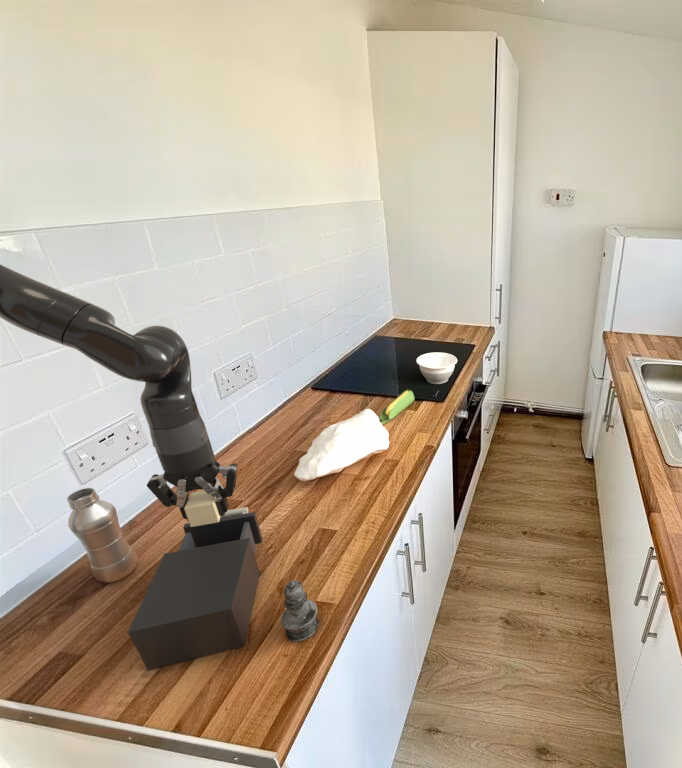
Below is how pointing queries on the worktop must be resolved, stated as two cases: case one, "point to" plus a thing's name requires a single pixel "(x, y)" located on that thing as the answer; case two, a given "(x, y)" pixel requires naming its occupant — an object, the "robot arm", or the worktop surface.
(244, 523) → the drawer
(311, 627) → the grey tiered figure
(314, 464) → the crumpled cloth
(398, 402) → the edible corn
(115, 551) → the silver metal bottle
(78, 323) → the robot arm
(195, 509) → the block
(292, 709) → the worktop surface
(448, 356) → the bowl
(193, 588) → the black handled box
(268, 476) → the worktop surface
